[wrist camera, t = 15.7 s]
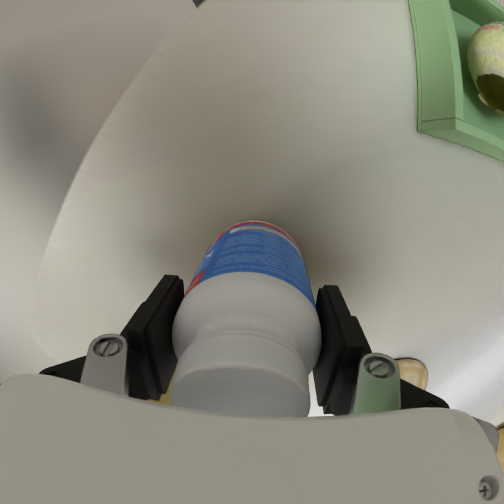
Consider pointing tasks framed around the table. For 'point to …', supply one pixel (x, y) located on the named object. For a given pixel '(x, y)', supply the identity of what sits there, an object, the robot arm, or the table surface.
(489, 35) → the tennis ball
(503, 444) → the sculpture
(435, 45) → the green bin
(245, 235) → the pill bottle
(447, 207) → the table surface
